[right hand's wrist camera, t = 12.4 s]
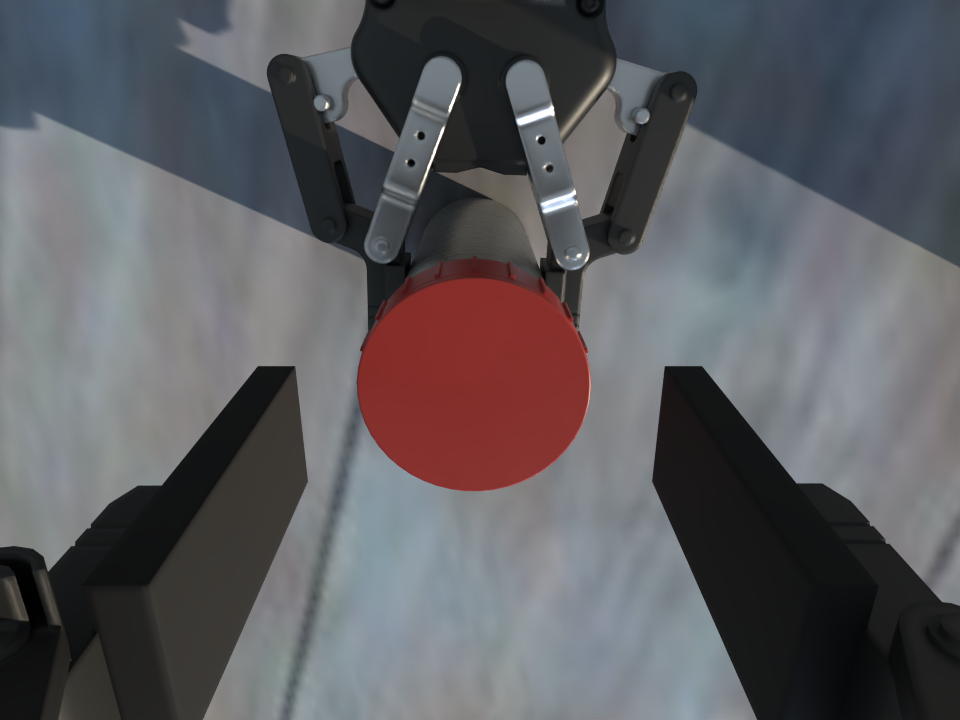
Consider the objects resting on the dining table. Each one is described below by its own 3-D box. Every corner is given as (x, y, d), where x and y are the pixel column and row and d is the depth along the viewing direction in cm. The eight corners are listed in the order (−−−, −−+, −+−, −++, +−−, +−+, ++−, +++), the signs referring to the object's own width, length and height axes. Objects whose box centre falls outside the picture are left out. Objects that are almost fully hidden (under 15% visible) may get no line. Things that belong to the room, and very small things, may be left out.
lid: (622, 318, 18) (638, 343, 16) (516, 486, 19) (520, 526, 18) (424, 215, 17) (417, 230, 15) (333, 403, 18) (317, 436, 17)
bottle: (549, 229, 30) (611, 343, 16) (497, 322, 32) (513, 499, 18) (450, 176, 29) (427, 250, 15) (402, 275, 31) (341, 422, 17)
